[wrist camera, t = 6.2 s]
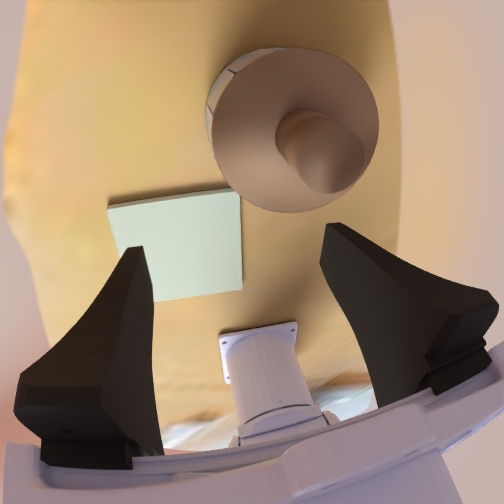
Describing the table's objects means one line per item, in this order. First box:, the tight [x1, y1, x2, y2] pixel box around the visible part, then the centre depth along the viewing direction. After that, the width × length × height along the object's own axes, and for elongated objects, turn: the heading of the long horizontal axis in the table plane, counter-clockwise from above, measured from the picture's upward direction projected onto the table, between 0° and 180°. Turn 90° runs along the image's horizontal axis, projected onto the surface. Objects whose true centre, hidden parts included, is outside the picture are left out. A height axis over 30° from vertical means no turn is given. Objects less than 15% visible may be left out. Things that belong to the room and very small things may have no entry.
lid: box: [211, 48, 379, 213], centre depth 14 cm, size 9×9×4 cm
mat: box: [106, 188, 243, 302], centre depth 23 cm, size 9×9×1 cm
